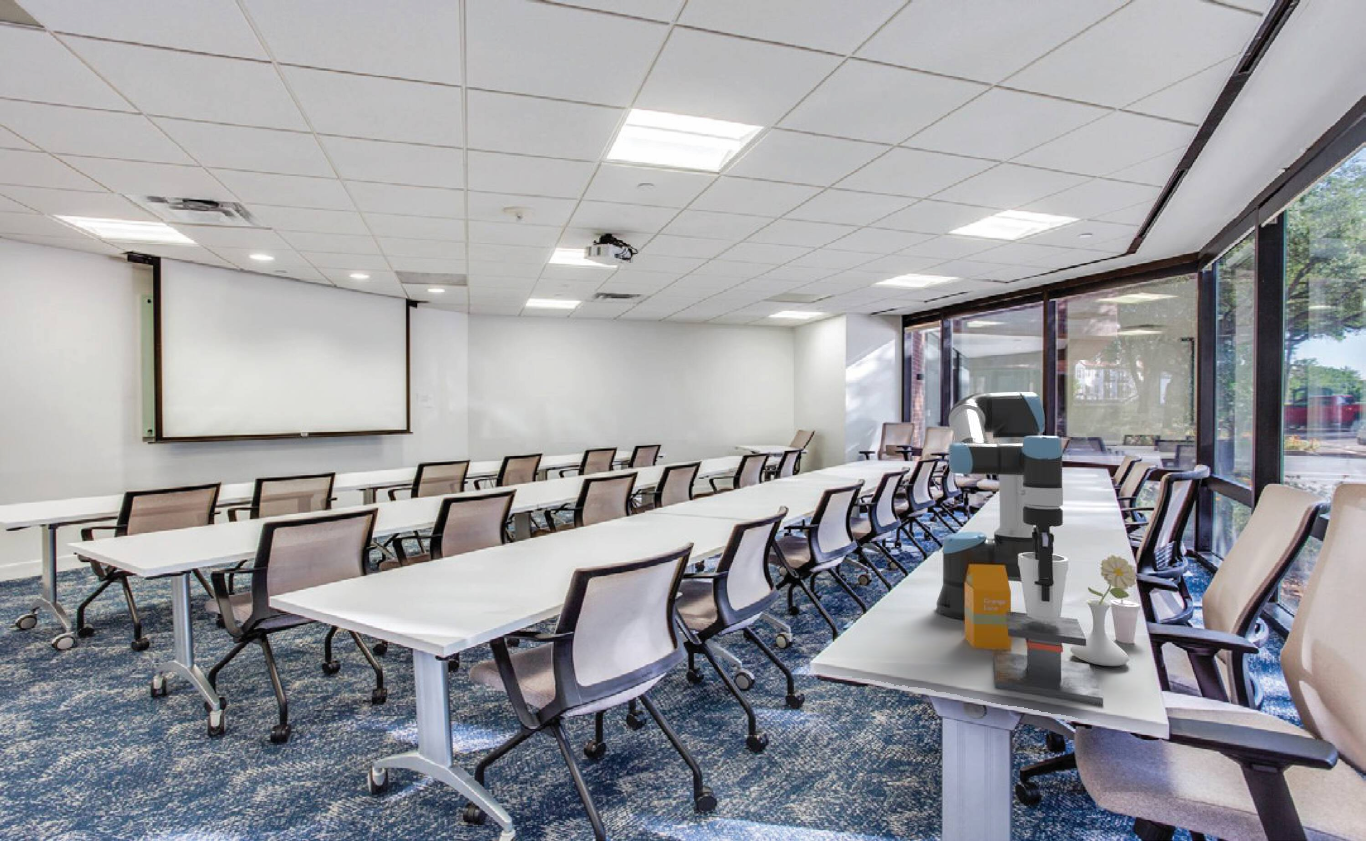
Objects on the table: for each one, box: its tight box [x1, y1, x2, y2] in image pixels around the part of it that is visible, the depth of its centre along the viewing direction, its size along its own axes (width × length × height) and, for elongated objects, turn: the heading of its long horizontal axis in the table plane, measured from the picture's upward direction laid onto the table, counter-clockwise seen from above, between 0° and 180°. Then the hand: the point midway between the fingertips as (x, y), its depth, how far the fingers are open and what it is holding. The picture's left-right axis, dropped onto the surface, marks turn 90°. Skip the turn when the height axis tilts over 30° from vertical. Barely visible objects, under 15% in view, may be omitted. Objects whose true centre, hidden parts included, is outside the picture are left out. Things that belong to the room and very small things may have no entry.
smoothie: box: [1109, 598, 1141, 644], centre depth 158 cm, size 6×6×14 cm
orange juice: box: [964, 564, 1012, 651], centre depth 156 cm, size 8×9×20 cm
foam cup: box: [1018, 552, 1069, 621], centre depth 135 cm, size 10×9×13 cm
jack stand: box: [993, 610, 1104, 706], centre depth 135 cm, size 19×19×12 cm
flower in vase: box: [1070, 555, 1138, 667], centre depth 144 cm, size 13×11×25 cm
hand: (1043, 609), depth 135 cm, fingers closed on foam cup, 9 cm apart
